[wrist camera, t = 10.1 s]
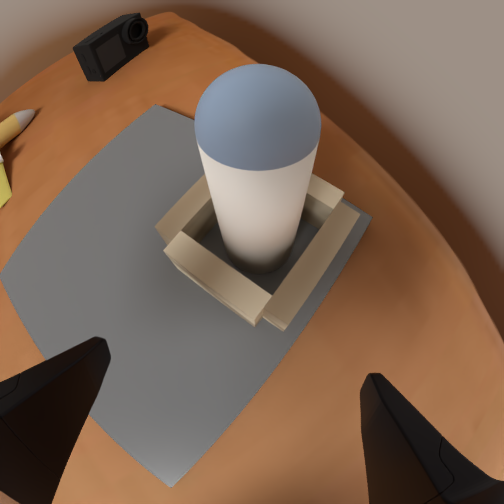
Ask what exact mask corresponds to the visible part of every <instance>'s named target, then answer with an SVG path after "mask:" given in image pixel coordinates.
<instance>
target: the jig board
mask: <svg viewBox="0 0 504 504" xmlns="http://www.w3.org/2000/svg"><path fill="white" fill-rule="evenodd" d="M194 122H195V120H192V119H190V118H188V117H185V116H183V115H181V114H178V113H176V112H173V111H171V110H169V109H166V108H164V107H161V106H159V105H156V104H155V105H154V106H152V107H151V108H150V109H149V110H147V111H146V112H145V113H143V114H142V115H141V116H140V117H138V118H137V119H136V120H135V121H134V122H132V123H131V124H130V125H129V126H128V127H126V128H125V129H124V130H123V131H122V132H121V133H119V134H118V135H117V136H116V137H115V138H114V139H113V140H112V141H111V142H109V143H108V144H107V145H106V146H105V147H104V148H103V149H102V150H101V151H100V152H99V153H98V154H97V155H96V156H95V157H93V158H92V159H91V160H90V161H89V162H88V163H87V164H86V165H85V166H84V167H83V168H82V170H81V171H80V172H79V173H78V174H77V175H76V176H75V177H74V178H73V179H72V180H71V181H70V182H69V183H68V184H67V185H66V187H65V188H64V189H63V190H62V191H61V192H60V193H59V194H58V196H57V197H56V198H55V199H54V200H53V201H52V203H51V204H50V205H49V206H48V207H47V209H46V210H45V211H44V212H43V214H42V215H41V216H40V217H39V219H38V220H37V221H36V222H35V224H34V225H33V226H32V228H31V229H30V230H29V232H28V233H27V234H26V236H25V237H24V239H23V240H22V241H21V243H20V244H19V246H18V247H17V249H16V250H15V252H14V253H13V255H12V256H11V258H10V259H9V261H8V262H7V264H6V265H5V267H4V268H3V270H2V272H1V273H0V279H1V281H2V283H3V286H4V288H5V290H6V292H7V294H8V296H9V298H10V300H11V302H12V304H13V306H14V308H15V310H16V312H17V313H18V315H19V317H20V319H21V321H22V322H23V324H24V326H25V328H26V329H27V331H28V333H29V334H30V336H31V338H32V339H33V341H34V342H35V344H36V346H37V347H38V349H39V350H40V352H41V353H42V355H43V356H44V358H45V359H46V360H48V359H50V358H52V357H54V356H56V355H58V354H60V353H62V352H64V351H66V350H68V349H70V348H72V347H74V346H76V345H78V344H80V343H82V342H84V341H86V340H88V339H90V338H92V337H94V336H98V337H102V338H104V339H106V341H107V344H108V347H109V350H110V354H111V361H110V364H109V367H108V369H107V372H106V374H105V377H104V380H103V383H102V385H101V388H100V391H99V393H98V396H97V398H96V400H95V402H94V404H93V406H92V408H91V410H90V412H89V415H90V416H91V417H92V418H93V419H94V420H95V421H96V422H97V423H98V425H99V426H100V427H101V428H102V429H103V430H104V431H105V432H106V433H107V434H108V435H109V436H110V437H111V438H112V439H113V440H114V441H115V442H116V443H117V444H119V445H120V446H121V447H122V448H123V449H124V450H125V451H126V452H127V453H128V454H129V455H131V456H132V457H133V458H134V459H135V460H136V461H137V462H139V463H140V464H141V465H142V466H143V467H145V468H146V469H147V470H148V471H150V472H151V473H152V474H153V475H155V476H156V477H157V478H158V479H160V480H161V481H162V482H164V483H165V484H166V485H168V486H169V487H171V488H172V487H173V486H174V485H175V484H176V483H177V482H178V481H179V480H180V479H181V478H182V477H183V476H184V475H185V474H186V473H187V472H188V471H189V470H190V468H191V467H192V466H193V465H194V464H195V463H196V462H197V461H198V460H199V459H200V458H201V457H202V456H203V455H204V454H205V453H206V451H207V450H208V449H209V448H210V447H211V446H212V445H213V444H214V443H215V441H216V440H217V439H218V438H219V437H220V436H221V435H222V434H223V432H224V431H225V430H226V429H227V428H228V427H229V425H230V424H231V423H232V422H233V421H234V420H235V418H236V417H237V416H238V415H239V414H240V412H241V411H242V410H243V409H244V408H245V406H246V405H247V404H248V403H249V401H250V400H251V399H252V398H253V396H254V395H255V394H256V393H257V391H258V390H259V389H260V388H261V386H262V385H263V384H264V382H265V381H266V380H267V379H268V377H269V376H270V375H271V373H272V372H273V371H274V369H275V368H276V367H277V365H278V364H279V363H280V361H281V360H282V359H283V357H284V356H285V354H286V353H287V352H288V350H289V349H290V348H291V346H292V345H293V343H294V342H295V341H296V339H297V338H298V336H299V335H300V333H301V332H302V331H303V329H304V328H305V326H306V325H307V323H308V322H309V320H310V319H311V317H312V316H313V315H314V313H315V312H316V310H317V309H318V307H319V305H320V304H321V302H322V301H323V299H324V298H325V296H326V295H327V293H328V292H329V290H330V289H331V287H332V285H333V284H334V282H335V281H336V279H337V277H338V276H339V274H340V273H341V271H342V269H343V268H344V266H345V264H346V263H347V261H348V259H349V258H350V256H351V254H352V253H353V251H354V249H355V248H356V246H357V244H358V242H359V241H360V239H361V237H362V236H363V234H364V232H365V230H366V228H367V227H368V225H369V223H370V221H371V219H372V218H373V217H371V216H370V215H368V214H367V213H365V212H364V211H362V210H361V209H359V208H358V207H356V206H354V205H353V204H351V203H350V202H348V201H346V200H345V199H343V198H342V200H341V202H342V203H344V204H345V205H347V206H349V207H350V208H352V209H353V210H355V211H356V212H358V213H360V216H359V218H358V219H357V221H356V223H355V224H354V226H353V228H352V229H351V231H350V233H349V234H348V236H347V237H346V239H345V241H344V242H343V244H342V246H341V247H340V249H339V250H338V252H337V253H336V255H335V257H334V258H333V260H332V261H331V263H330V264H329V266H328V268H327V269H326V271H325V272H324V274H323V275H322V277H321V278H320V280H319V281H318V283H317V284H316V286H315V287H314V289H313V290H312V292H311V293H310V295H309V296H308V298H307V299H306V301H305V302H304V304H303V305H302V306H301V308H300V309H299V311H298V312H297V314H296V315H295V316H294V318H293V319H292V321H291V322H290V324H289V325H288V326H287V328H286V329H285V330H284V332H283V331H281V330H280V329H278V328H277V327H276V326H274V325H273V324H271V323H270V322H268V321H267V320H266V319H264V318H262V319H261V320H260V322H259V323H258V324H257V326H256V327H254V326H252V325H251V324H250V323H248V322H247V321H246V320H244V319H243V318H241V317H240V316H239V315H237V314H236V313H235V312H233V311H232V310H231V309H229V308H228V307H227V306H225V305H224V304H223V303H221V302H220V301H219V300H217V299H216V298H215V297H213V296H212V295H211V294H209V293H208V292H207V291H205V290H204V289H203V288H202V287H200V286H199V285H198V284H196V283H195V282H194V281H193V280H191V279H190V278H189V277H187V276H186V275H185V274H184V273H182V272H181V271H180V270H179V269H177V267H176V266H175V265H174V264H173V262H172V261H171V260H170V259H169V257H168V256H167V255H166V253H165V252H164V251H163V250H164V249H165V248H166V247H167V246H168V245H167V244H166V243H165V241H164V240H163V238H162V237H161V235H160V234H159V233H158V231H157V230H156V228H155V225H156V224H157V223H158V222H159V221H160V220H161V219H162V218H163V217H164V216H165V214H166V213H167V212H168V211H169V210H170V209H171V208H172V207H173V206H174V205H175V204H176V203H177V202H178V201H179V200H180V198H181V197H182V196H183V195H184V194H185V193H186V192H187V191H188V190H189V189H190V188H191V187H192V186H193V185H194V184H195V183H196V182H197V181H198V180H199V179H200V178H201V177H202V176H203V175H204V174H205V171H204V167H203V163H202V159H201V156H200V152H199V148H198V144H197V140H196V135H195V127H194ZM318 231H319V229H318V228H316V227H314V226H313V225H311V224H310V223H308V222H307V221H305V220H303V219H302V218H300V221H299V225H298V229H297V233H296V237H295V240H294V244H293V248H292V251H291V254H290V256H289V258H288V260H287V261H286V262H285V263H284V264H283V265H282V266H281V267H280V268H278V269H277V270H275V271H273V272H270V273H265V274H252V273H248V272H245V271H243V270H241V269H239V268H238V267H237V266H235V265H234V264H233V263H232V262H231V260H230V259H229V257H228V255H227V252H226V249H225V246H224V242H223V238H222V235H221V231H220V227H219V224H218V222H217V223H216V224H215V225H214V226H213V228H212V229H211V230H210V231H209V232H208V233H207V234H206V236H205V237H204V238H203V239H202V240H201V241H200V242H199V244H200V245H202V246H203V247H204V248H206V249H207V250H208V251H210V252H211V253H213V254H214V255H215V256H217V257H218V258H220V259H221V260H222V261H224V262H225V263H227V264H228V265H229V266H231V267H232V268H234V269H235V270H236V271H238V272H239V273H241V274H242V275H243V276H245V277H246V278H248V279H249V280H251V281H252V282H253V283H255V284H256V285H258V286H259V287H261V288H262V289H263V290H265V291H266V292H268V293H269V294H271V295H273V294H274V293H275V291H276V290H277V289H278V287H279V286H280V285H281V283H282V282H283V280H284V279H285V278H286V276H287V275H288V274H289V272H290V271H291V269H292V268H293V267H294V265H295V264H296V262H297V261H298V260H299V258H300V257H301V255H302V254H303V253H304V251H305V250H306V248H307V247H308V245H309V244H310V243H311V241H312V240H313V238H314V237H315V235H316V234H317V233H318Z"/></svg>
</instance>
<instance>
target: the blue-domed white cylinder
mask: <svg viewBox="0 0 504 504" xmlns="http://www.w3.org/2000/svg"><path fill="white" fill-rule="evenodd" d="M194 127H195V135H196V140H197V144H198V148H199V152H200V156H201V159H202V163H203V167H204V171H205V175H206V179H207V183H208V186H209V190H210V194H211V198H212V202H213V205H214V209H215V213H216V216H217V220H218V224H219V227H220V231H221V235H222V238H223V242H224V246H225V249H226V252H227V255H228V257H229V259H230V260H231V262H232V263H233V264H234V265H235V266H237V267H238V268H239V269H241V270H243V271H245V272H248V273H252V274H265V273H270V272H273V271H275V270H277V269H278V268H280V267H281V266H282V265H283V264H284V263H285V262H286V261H287V260H288V258H289V256H290V254H291V251H292V248H293V244H294V240H295V237H296V233H297V229H298V225H299V221H300V217H301V213H302V210H303V206H304V202H305V198H306V194H307V190H308V186H309V181H310V177H311V173H312V169H313V165H314V160H315V156H316V152H317V148H318V143H319V139H320V133H321V116H320V111H319V107H318V105H317V102H316V100H315V98H314V96H313V94H312V93H311V91H310V90H309V88H308V87H307V86H306V85H305V84H304V83H303V82H302V81H301V80H300V79H299V78H297V77H296V76H294V75H293V74H291V73H290V72H288V71H286V70H284V69H281V68H278V67H275V66H271V65H265V64H250V65H244V66H240V67H237V68H234V69H231V70H229V71H227V72H225V73H224V74H222V75H221V76H219V77H218V78H216V79H215V80H214V81H213V82H212V83H211V84H210V85H209V86H208V87H207V89H206V90H205V92H204V93H203V95H202V96H201V98H200V101H199V103H198V106H197V109H196V113H195V122H194Z"/></svg>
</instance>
